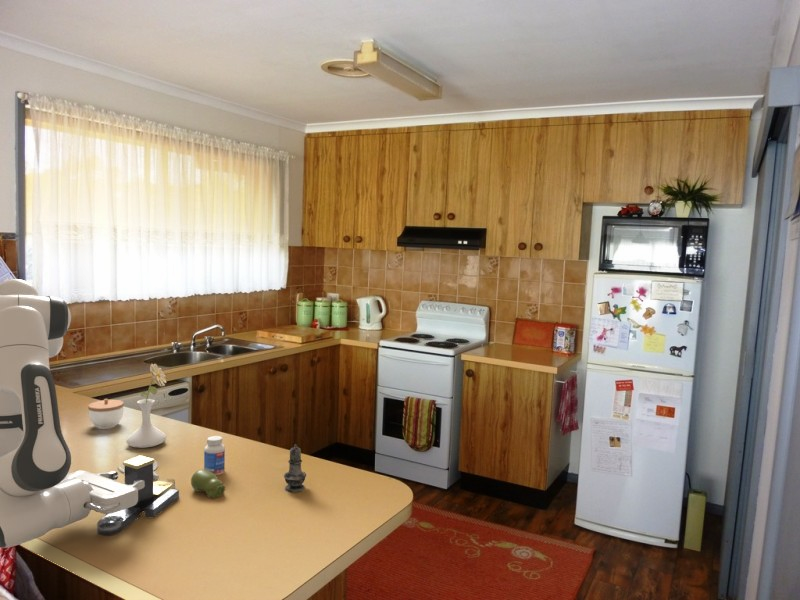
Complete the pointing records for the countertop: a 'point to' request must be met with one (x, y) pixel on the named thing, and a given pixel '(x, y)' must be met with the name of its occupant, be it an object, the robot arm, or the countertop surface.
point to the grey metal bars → (134, 514)
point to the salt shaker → (295, 472)
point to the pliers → (153, 470)
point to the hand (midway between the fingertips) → (129, 478)
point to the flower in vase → (148, 416)
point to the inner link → (162, 487)
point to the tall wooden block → (140, 471)
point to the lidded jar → (106, 413)
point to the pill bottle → (214, 455)
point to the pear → (207, 483)
